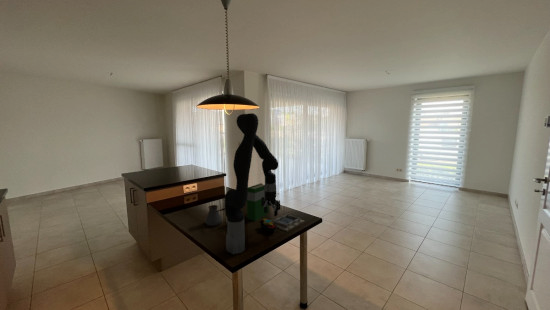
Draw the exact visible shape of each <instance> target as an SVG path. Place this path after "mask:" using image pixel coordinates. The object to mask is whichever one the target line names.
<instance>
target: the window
mask: <svg viewBox="0 0 550 310" xmlns="http://www.w3.org/2000/svg"><path fill="white" fill-rule="evenodd" d="M304 222H305V220H302V219H301V217H298V216H294V215H291V214H285V215H282V216H280V217H278V218H276V219H273V220H272V223H273V224H275V225H276V226H277V227H276V229H279V230H282V231H285V232H290V231H291V230H293V229H294V228H296V227H297V226H299V225H301V224H303V223H304Z"/></svg>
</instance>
